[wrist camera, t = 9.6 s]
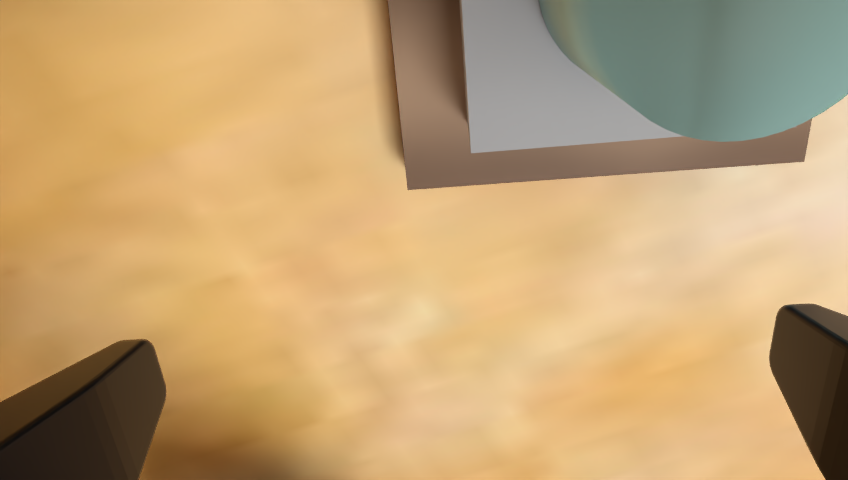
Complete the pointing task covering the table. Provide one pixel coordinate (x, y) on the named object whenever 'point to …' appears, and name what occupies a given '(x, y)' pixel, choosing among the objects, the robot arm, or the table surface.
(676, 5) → the teal round block
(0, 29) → the table surface
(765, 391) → the table surface
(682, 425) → the table surface
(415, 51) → the tower base slab
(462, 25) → the grey square block
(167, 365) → the table surface
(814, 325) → the robot arm
